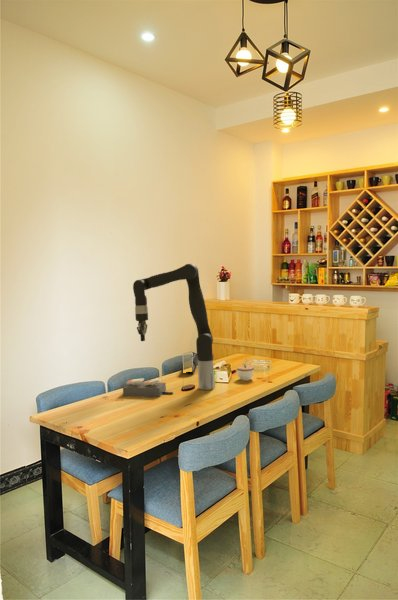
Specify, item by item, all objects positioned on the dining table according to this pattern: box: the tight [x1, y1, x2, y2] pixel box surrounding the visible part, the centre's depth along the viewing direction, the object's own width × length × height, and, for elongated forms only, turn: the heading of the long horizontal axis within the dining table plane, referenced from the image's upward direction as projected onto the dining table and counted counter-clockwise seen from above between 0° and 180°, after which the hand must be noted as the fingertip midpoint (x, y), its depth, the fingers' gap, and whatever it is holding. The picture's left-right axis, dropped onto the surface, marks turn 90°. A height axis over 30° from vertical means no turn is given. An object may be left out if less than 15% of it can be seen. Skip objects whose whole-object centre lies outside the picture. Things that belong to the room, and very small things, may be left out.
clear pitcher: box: [181, 351, 198, 373], centre depth 318 cm, size 10×28×10 cm, turn 174°
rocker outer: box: [125, 377, 145, 385], centre depth 265 cm, size 9×6×2 cm, turn 77°
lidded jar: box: [236, 364, 255, 382], centre depth 287 cm, size 11×11×9 cm
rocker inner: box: [144, 377, 162, 385], centre depth 263 cm, size 9×6×2 cm, turn 77°
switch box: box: [122, 381, 174, 398], centre depth 264 cm, size 28×12×5 cm, turn 78°
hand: (142, 340), depth 275 cm, fingers closed
